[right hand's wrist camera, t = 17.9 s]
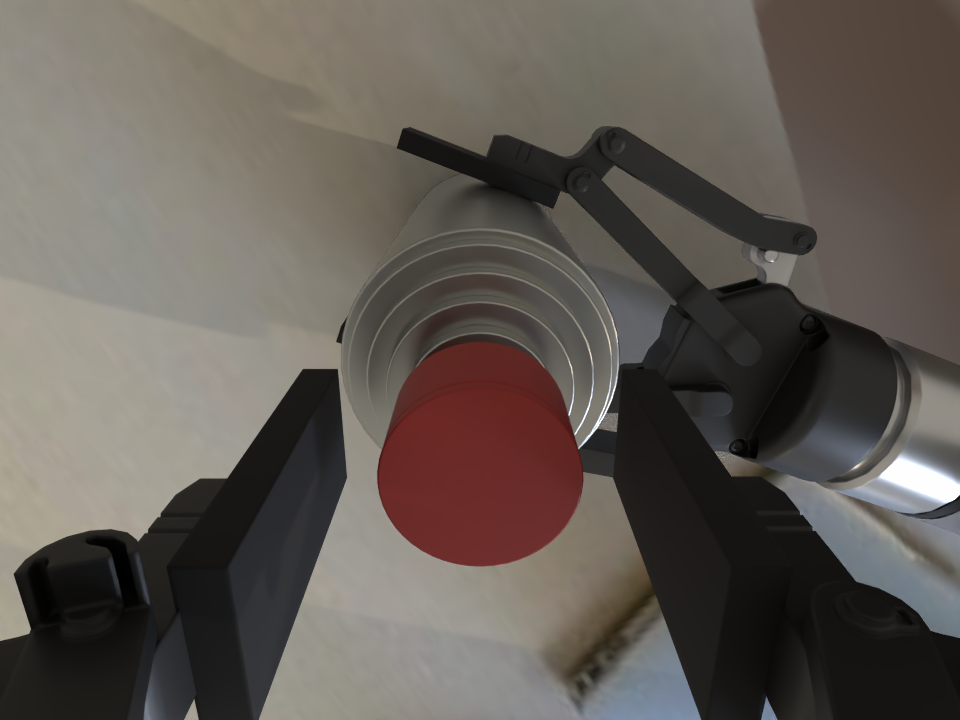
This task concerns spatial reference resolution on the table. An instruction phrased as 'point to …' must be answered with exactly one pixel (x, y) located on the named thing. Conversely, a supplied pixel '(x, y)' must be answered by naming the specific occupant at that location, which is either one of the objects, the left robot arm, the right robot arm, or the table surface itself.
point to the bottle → (479, 303)
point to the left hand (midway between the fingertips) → (373, 235)
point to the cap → (480, 457)
